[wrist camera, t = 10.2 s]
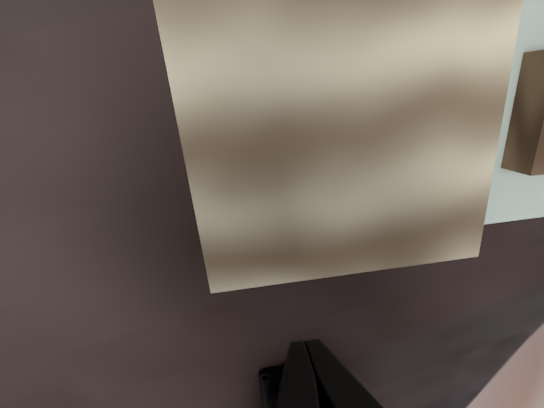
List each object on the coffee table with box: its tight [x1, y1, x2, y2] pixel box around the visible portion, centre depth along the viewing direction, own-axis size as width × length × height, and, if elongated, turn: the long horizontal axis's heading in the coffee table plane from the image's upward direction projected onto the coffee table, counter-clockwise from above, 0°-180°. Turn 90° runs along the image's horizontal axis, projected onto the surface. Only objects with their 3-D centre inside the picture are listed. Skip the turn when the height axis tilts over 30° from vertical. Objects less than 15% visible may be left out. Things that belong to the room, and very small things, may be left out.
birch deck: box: [153, 0, 523, 293], centre depth 16 cm, size 16×16×4 cm
